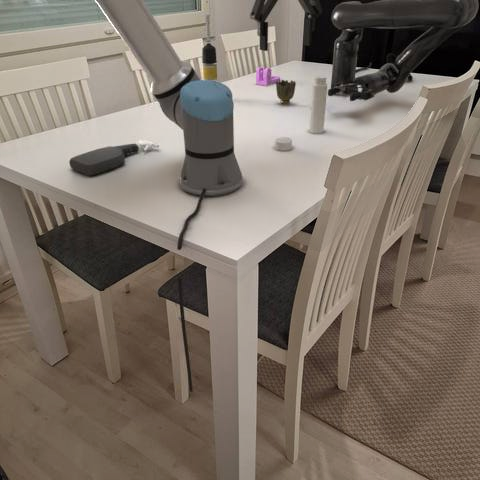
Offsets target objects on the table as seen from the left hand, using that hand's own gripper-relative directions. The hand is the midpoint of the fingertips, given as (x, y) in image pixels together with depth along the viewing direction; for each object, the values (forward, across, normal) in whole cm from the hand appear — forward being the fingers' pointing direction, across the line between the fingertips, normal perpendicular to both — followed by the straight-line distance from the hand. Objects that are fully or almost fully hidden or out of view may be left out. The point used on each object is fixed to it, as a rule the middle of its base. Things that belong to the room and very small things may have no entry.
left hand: (285, 47), depth 116 cm
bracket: (+27, +41, +73) cm, 88 cm away
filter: (+27, +7, +61) cm, 67 cm away
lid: (+25, 0, 0) cm, 25 cm away
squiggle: (+27, +92, +44) cm, 106 cm away
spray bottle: (+27, -44, +16) cm, 55 cm away
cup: (+27, +27, +39) cm, 55 cm away
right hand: (+18, +29, +10) cm, 36 cm away
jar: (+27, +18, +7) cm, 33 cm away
